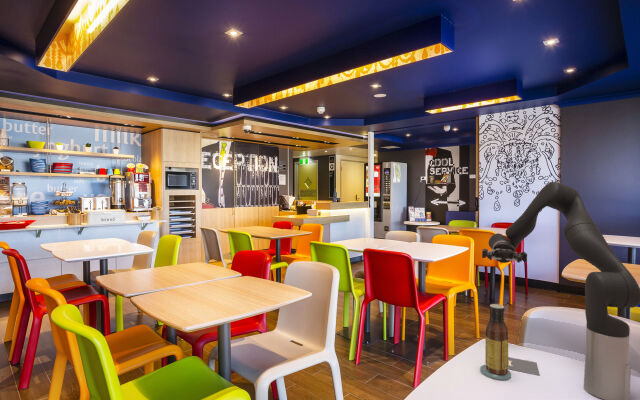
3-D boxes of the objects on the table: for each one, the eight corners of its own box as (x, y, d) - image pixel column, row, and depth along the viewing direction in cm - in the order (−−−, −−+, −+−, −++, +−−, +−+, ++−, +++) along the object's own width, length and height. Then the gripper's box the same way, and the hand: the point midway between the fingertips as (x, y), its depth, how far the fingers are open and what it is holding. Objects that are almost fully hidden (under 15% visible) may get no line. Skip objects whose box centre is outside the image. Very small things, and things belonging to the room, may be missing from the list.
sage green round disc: (510, 370, 111) (510, 368, 111) (511, 383, 104) (512, 381, 104) (480, 363, 115) (480, 362, 115) (479, 376, 107) (479, 374, 107)
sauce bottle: (502, 366, 112) (505, 303, 112) (511, 377, 106) (514, 309, 105) (481, 365, 113) (483, 301, 112) (488, 375, 107) (491, 308, 106)
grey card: (536, 362, 116) (536, 362, 116) (539, 375, 108) (539, 375, 108) (488, 353, 122) (488, 353, 122) (488, 365, 114) (488, 364, 114)
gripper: (483, 239, 141) (482, 245, 127) (524, 242, 135) (528, 249, 120) (482, 259, 141) (481, 266, 127) (524, 262, 135) (528, 271, 121)
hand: (504, 258), depth 124 cm, fingers open, 8 cm apart
